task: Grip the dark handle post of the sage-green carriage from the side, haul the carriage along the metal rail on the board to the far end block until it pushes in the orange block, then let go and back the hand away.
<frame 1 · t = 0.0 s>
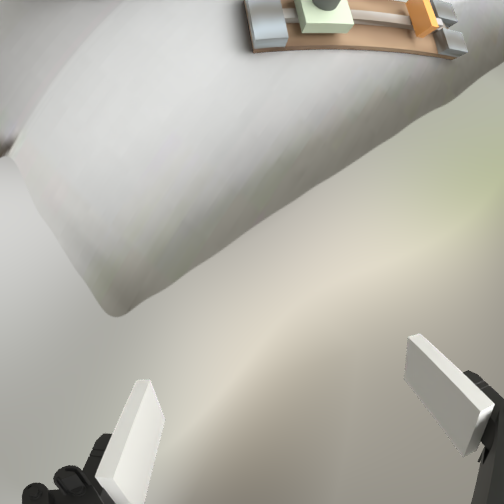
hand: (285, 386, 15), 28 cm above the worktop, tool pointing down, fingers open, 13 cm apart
orange block: (432, 16, 30), point 6 cm above the worktop, slide at 0.0 cm
rail base: (359, 24, 35), on the worktop
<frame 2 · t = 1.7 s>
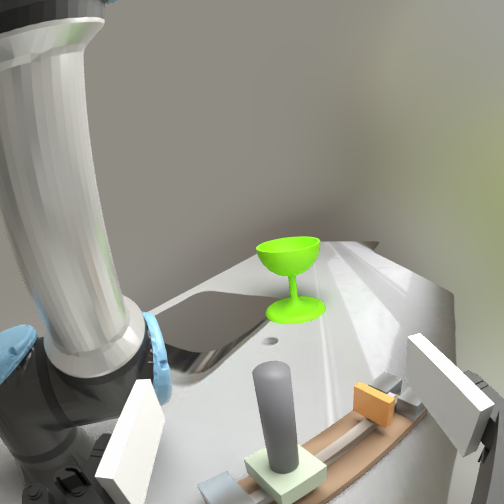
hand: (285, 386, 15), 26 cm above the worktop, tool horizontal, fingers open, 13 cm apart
carriage: (280, 434, 28), point 11 cm above the worktop, slide at -7.0 cm
orange block: (382, 397, 38), point 6 cm above the worktop, slide at 0.0 cm
wineglass: (295, 310, 85), on the worktop
rail base: (331, 463, 34), on the worktop
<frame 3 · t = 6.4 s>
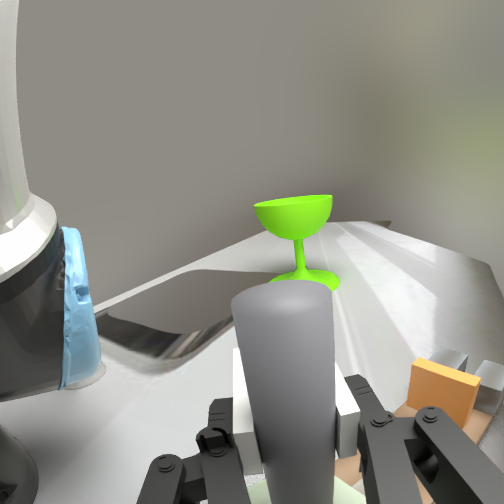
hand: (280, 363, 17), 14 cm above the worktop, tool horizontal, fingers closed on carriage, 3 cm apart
carriage: (298, 459, 12), point 12 cm above the worktop, slide at -7.0 cm, touching gripper
orange block: (452, 380, 21), point 6 cm above the worktop, slide at 0.0 cm
wineglass: (303, 285, 69), on the worktop
glass holder: (81, 383, 39), on the worktop
rail base: (376, 494, 18), on the worktop
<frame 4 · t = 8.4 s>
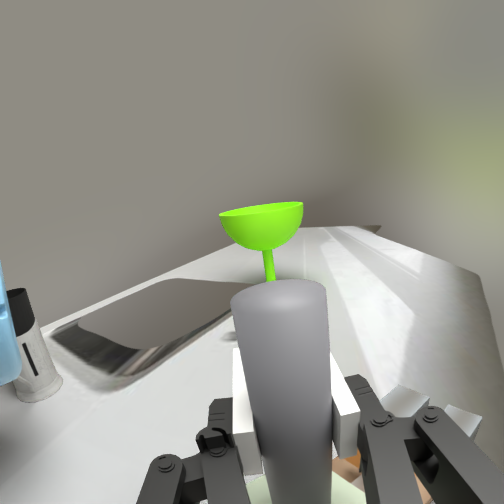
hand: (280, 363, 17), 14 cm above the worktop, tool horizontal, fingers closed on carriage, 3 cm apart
carriage: (297, 454, 12), point 11 cm above the worktop, slide at 1.1 cm, touching gripper
orange block: (397, 435, 18), point 6 cm above the worktop, slide at 0.0 cm
wineglass: (273, 298, 65), on the worktop
glass holder: (38, 396, 36), on the worktop
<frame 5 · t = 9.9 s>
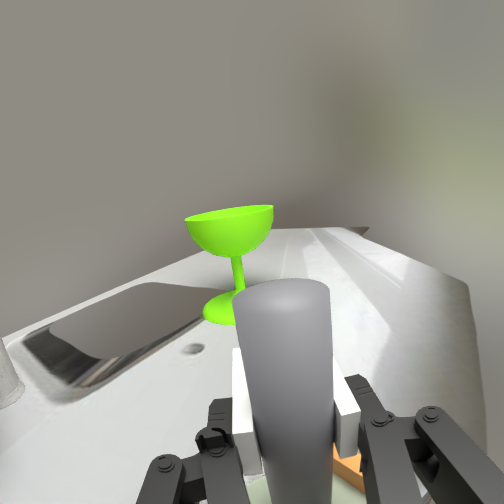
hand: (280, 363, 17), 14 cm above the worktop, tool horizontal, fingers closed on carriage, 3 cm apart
carriage: (297, 455, 12), point 12 cm above the worktop, slide at 7.5 cm, touching gripper, orange block
orange block: (369, 460, 16), point 6 cm above the worktop, slide at 3.5 cm, touching carriage
wineglass: (243, 307, 62), on the worktop
glass holder: (1, 404, 32), on the worktop
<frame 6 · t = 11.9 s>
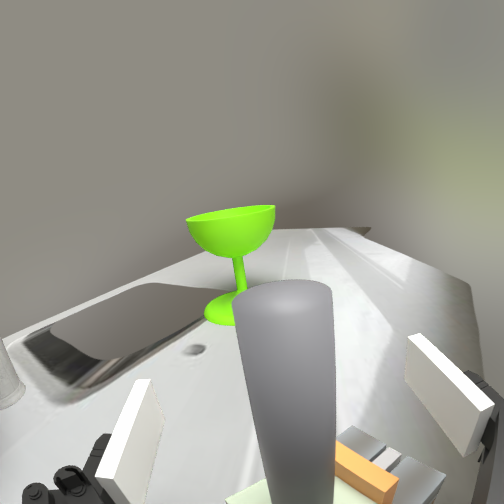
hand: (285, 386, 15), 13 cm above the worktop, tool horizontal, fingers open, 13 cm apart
carriage: (299, 459, 12), point 11 cm above the worktop, slide at 7.5 cm
orange block: (372, 463, 16), point 6 cm above the worktop, slide at 3.6 cm
wineglass: (245, 307, 61), on the worktop
glass holder: (1, 405, 32), on the worktop
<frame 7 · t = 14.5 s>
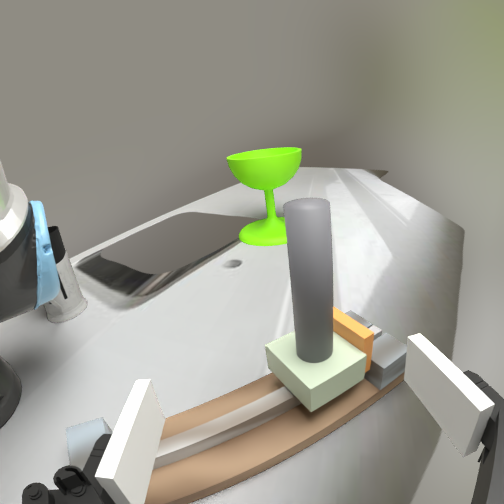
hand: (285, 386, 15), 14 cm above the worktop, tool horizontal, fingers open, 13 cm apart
carriage: (313, 303, 25), point 12 cm above the worktop, slide at 7.5 cm
orange block: (360, 330, 29), point 6 cm above the worktop, slide at 3.6 cm
wineglass: (273, 232, 74), on the worktop
glass holder: (66, 317, 50), on the worktop
rail base: (249, 432, 27), on the worktop
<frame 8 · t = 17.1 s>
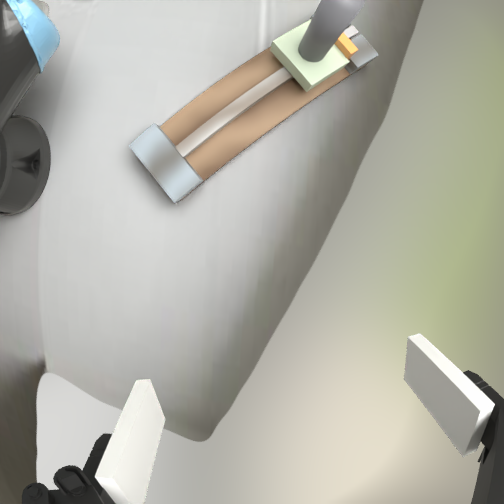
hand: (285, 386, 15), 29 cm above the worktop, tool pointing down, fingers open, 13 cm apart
carriage: (322, 33, 26), point 12 cm above the worktop, slide at 7.5 cm
orange block: (344, 33, 31), point 6 cm above the worktop, slide at 3.6 cm
rail base: (257, 97, 38), on the worktop
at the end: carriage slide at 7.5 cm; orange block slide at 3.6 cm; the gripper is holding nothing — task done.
